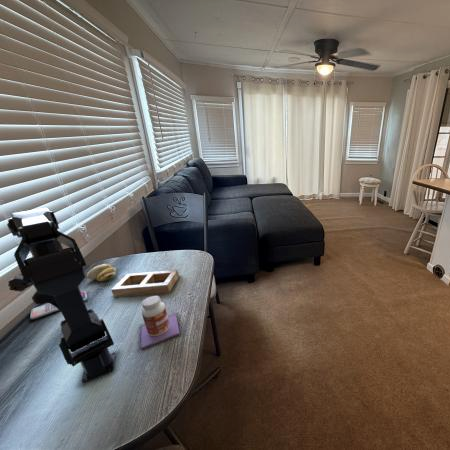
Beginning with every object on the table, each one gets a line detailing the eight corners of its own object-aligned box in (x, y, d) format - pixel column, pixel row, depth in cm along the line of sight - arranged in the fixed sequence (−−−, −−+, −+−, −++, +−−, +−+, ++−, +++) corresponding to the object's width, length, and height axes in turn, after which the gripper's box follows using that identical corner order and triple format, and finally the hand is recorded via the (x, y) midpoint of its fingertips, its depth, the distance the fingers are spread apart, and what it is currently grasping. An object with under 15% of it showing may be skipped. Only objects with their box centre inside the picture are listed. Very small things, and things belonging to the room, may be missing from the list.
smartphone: (30, 308, 85) (85, 290, 95) (32, 311, 85) (86, 292, 95) (29, 318, 80) (87, 298, 90) (30, 321, 80) (88, 300, 90)
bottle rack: (169, 292, 94) (167, 284, 93) (113, 297, 92) (111, 289, 91) (179, 276, 104) (177, 269, 103) (129, 280, 102) (127, 273, 101)
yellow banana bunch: (109, 256, 111) (113, 266, 100) (116, 266, 114) (120, 278, 103) (83, 266, 106) (84, 278, 95) (90, 277, 108) (92, 290, 97)
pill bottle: (161, 338, 72) (152, 308, 68) (143, 336, 73) (133, 306, 69) (174, 323, 78) (167, 294, 74) (157, 321, 78) (149, 293, 75)
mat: (179, 334, 74) (179, 332, 74) (141, 348, 69) (141, 347, 69) (175, 315, 82) (175, 313, 82) (141, 327, 77) (141, 325, 77)
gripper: (21, 250, 67) (43, 296, 72) (-15, 282, 52) (18, 337, 57) (73, 240, 72) (90, 284, 78) (55, 267, 57) (78, 319, 63)
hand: (71, 303), depth 69 cm, fingers open, 9 cm apart
